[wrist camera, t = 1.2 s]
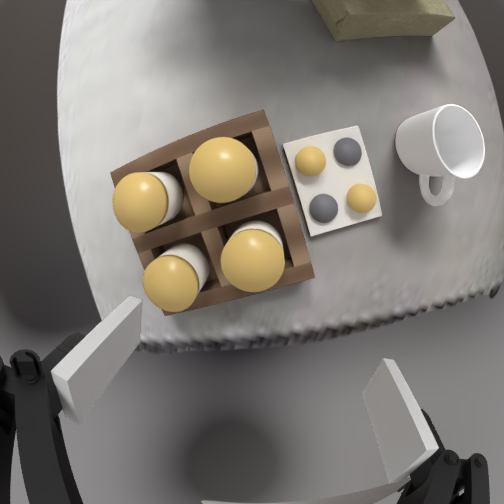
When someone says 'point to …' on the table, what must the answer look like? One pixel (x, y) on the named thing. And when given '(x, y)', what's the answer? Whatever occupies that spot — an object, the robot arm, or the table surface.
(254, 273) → the button
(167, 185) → the button
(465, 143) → the mug
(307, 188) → the card
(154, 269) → the button
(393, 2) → the tissue box
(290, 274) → the board
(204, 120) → the table surface
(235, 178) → the button
